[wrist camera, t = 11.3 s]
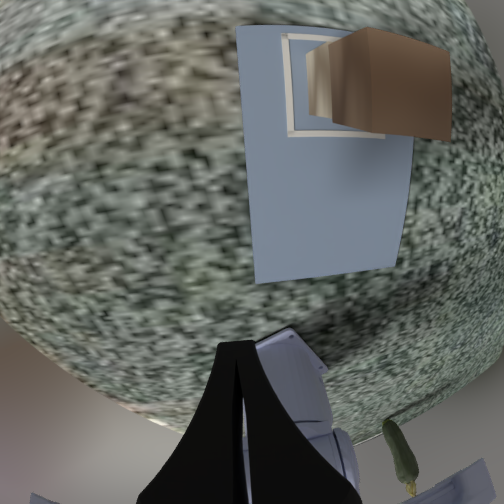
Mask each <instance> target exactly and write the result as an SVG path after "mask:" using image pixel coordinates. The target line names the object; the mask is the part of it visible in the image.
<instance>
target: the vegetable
mask: <svg viewBox="0 0 504 504" xmlns="http://www.w3.org/2000/svg"><path fill="white" fill-rule="evenodd" d="M382 424H383V426H382V430H383V434H384V437H385V440H386V442H387V444H388V446H389V448H390V450H391V452H392V455H393V458H394V464H395V470H396V475H397V477H398V480H399V481H400V482H401V483H404V484H407V485H406V490H407V492H408V493H409V494H410V495H411V496H412V497H415V496H416V484H415V482H414V481H415V480H416V478H417V477H418V473H419V469H418V464H417V461H416V458H415V456H414V454H413V452H412V451H411V449H410V448H409V446H408V444H407V441H406V440H405V437H404V435H403V433H402V431H401V430H400V428H399V427H398V426H397V424H396V423H395V422H393V421H392V420H389V419H387V420H385V421H383V422H382Z"/></svg>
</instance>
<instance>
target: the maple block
mask: <svg viewBox="0 0 504 504" xmlns="http://www.w3.org/2000/svg"><path fill="white" fill-rule="evenodd" d="M331 43H333V42H329V41H328V42H326V43H324V44H322V45H320V46H319V47H317V48H315V49H314V50H312V51H310V52H308V53H307V54H306V65H307V81H308V100H309V115H313V116H319V117H325V118H330V119H332V95H331V76H330V61H329V49H328V45H329V44H331Z"/></svg>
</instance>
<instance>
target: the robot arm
mask: <svg viewBox="0 0 504 504" xmlns="http://www.w3.org/2000/svg"><path fill="white" fill-rule="evenodd" d="M290 335H291V336H290ZM327 371H328V367H327V366H326V365H325V364H324V363H323V362H322V360H321V359H320V358H319V357H318V356H317V355H316V354H315V353H314V352H313V351H312V349H311V348H310V347H309V346H308V345H307V344H306V343H305V342H304V341H303V340H302V338H301V337H300V336H299V335H298V334H297V333H296V332H295V331H294V330H293V329H292V328H286V329H284V330H282V331H280V332H278V333H276V334H274V335H272V336H270V337H268V338H266V339H264V340H262V341H260V342H258V343H256V344H255V341H253V340H243V341H232V342H220V343H219V344H218V345H217V351H216V356H215V360H214V364H213V367H212V371H211V374H210V377H209V380H208V382H207V385H206V388H205V391H204V393H203V396H202V398H201V401H200V403H199V405H198V408H197V410H196V412H195V414H194V416H193V418H192V420H191V422H190V424H189V426H188V428H187V430H186V432H185V434H184V435H183V437H182V439H181V440H180V442H179V444H178V445H177V447H176V449H175V450H174V452H173V453H172V455H171V456H170V458H169V459H168V460H167V462H166V463H165V464H164V466H163V467H162V469H161V470H160V471H159V472H158V474H157V475H156V476H155V478H154V479H153V480H152V481H151V482H150V483H149V485H147V487H146V488H145V489H144V490H143V491H142V492H141V493H140V494H139V496H138V499H137V502H136V504H362V500H361V498H360V492H359V482H360V478H359V477H360V476H359V469H358V463H357V459H356V455H355V452H354V448H353V445H352V442H351V439H350V437H349V435H348V433H347V432H346V431H344V430H341V428H335V429H333V432H332V428H331V426H332V422H333V415H332V411H331V407H330V404H329V400H328V397H327V393H326V390H325V386H324V383H323V379H322V376H321V375H322V374H324V373H326V372H327ZM243 412H244V425H245V437H243V438H242V436H243ZM495 498H496V494H495V490H494V487H493V484H492V481H491V478H490V475H489V472H488V469H487V467H486V464H485V461H484V459H483V458H481V459H479V460H477V461H476V462H474V463H473V464H471V465H470V466H468V467H466V468H465V469H463V470H460V471H458V472H456V473H455V474H453V475H451V476H449V477H448V478H446V479H444V480H443V481H441V482H439V483H437V484H436V485H435V486H434V487H432V488H430V489H429V490H427V491H425V492H423V493H421V494H419V495H417V496H415V497H412V498H410V499H408V500H406V501H404V502H402V503H399V504H489V503H491V502H492V501H493V500H494V499H495ZM30 504H59V503H57V502H53V501H51V500H48V499H46V498H44V497H41V496H39V495H37V494H35V493H31V497H30Z"/></svg>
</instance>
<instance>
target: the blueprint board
mask: <svg viewBox="0 0 504 504" xmlns="http://www.w3.org/2000/svg"><path fill="white" fill-rule="evenodd" d="M235 29H236V42H237V54H238V67H239V79H240V92H241V105H242V117H243V130H244V143H245V155H246V168H247V181H248V194H249V206H250V219H251V232H252V245H253V258H254V271H255V281H256V284H258V283H267V282H276V281H285V280H294V279H303V278H311V277H319V276H327V275H335V274H343V273H350V272H358V271H365V270H372V269H379V268H386V267H393V266H395V264H396V259H397V255H398V250H399V245H400V241H401V236H402V230H403V225H404V219H405V213H406V207H407V200H408V193H409V185H410V177H411V167H412V155H413V141H414V137H411V136H402V135H391V134H378V133H370V132H366V131H363V130H359V129H355V128H352V127H348V126H344V125H340V124H335V123H332V119H330V118H325V117H319V116H313V115H309V100H308V81H307V65H306V54H307V53H308V52H310V51H312V50H314V49H315V48H317V47H319V46H320V45H322V44H324V43H326V42H328V41H329V42H335V41H337V40H339V39H341V38H343V37H345V36H347V35H350V34H352V33H354V32H350V31H344V30H336V29H329V28H319V27H308V26H291V25H248V26H236V28H235Z"/></svg>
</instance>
